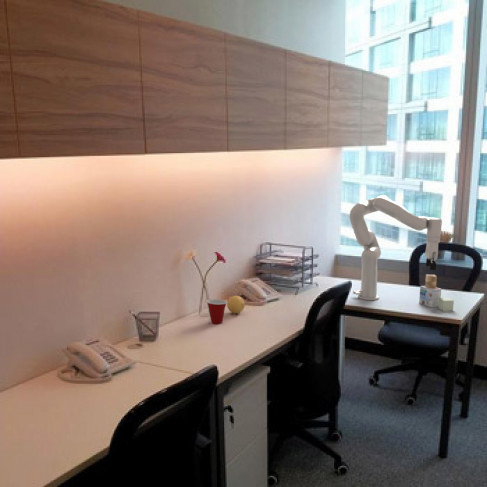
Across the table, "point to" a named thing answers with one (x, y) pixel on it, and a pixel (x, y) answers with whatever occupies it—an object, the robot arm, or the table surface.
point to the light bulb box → (429, 296)
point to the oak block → (430, 281)
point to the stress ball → (235, 304)
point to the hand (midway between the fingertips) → (430, 267)
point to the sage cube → (445, 304)
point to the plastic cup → (216, 310)
